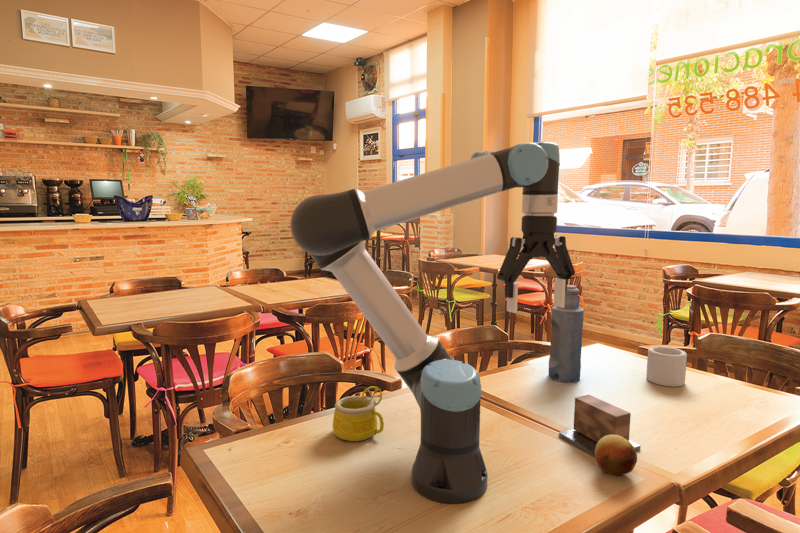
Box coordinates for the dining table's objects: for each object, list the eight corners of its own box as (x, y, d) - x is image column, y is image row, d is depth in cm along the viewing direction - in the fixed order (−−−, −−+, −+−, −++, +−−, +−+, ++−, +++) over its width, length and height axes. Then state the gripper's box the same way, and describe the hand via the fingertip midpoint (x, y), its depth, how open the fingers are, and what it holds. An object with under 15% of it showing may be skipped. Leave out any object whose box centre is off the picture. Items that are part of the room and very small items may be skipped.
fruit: (644, 479, 100) (646, 442, 99) (610, 486, 98) (612, 448, 97) (618, 461, 108) (620, 426, 107) (585, 467, 105) (587, 431, 104)
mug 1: (324, 440, 117) (323, 391, 116) (345, 421, 127) (344, 376, 126) (374, 449, 113) (374, 399, 111) (391, 429, 123) (391, 382, 121)
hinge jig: (601, 461, 108) (602, 446, 107) (558, 436, 119) (559, 422, 119) (640, 449, 113) (641, 435, 112) (595, 426, 124) (596, 413, 124)
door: (628, 447, 111) (630, 413, 110) (614, 451, 109) (616, 416, 108) (587, 425, 122) (588, 394, 121) (573, 429, 120) (575, 397, 119)
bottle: (543, 373, 164) (547, 283, 160) (572, 371, 165) (576, 282, 161) (555, 383, 155) (559, 288, 151) (585, 382, 156) (590, 287, 152)
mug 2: (692, 387, 151) (694, 355, 150) (656, 387, 151) (658, 355, 150) (668, 372, 165) (670, 343, 163) (636, 372, 165) (637, 343, 164)
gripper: (504, 215, 101) (501, 317, 104) (594, 214, 112) (589, 307, 114) (482, 215, 108) (480, 311, 110) (569, 214, 118) (565, 301, 121)
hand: (535, 309), depth 112 cm, fingers open, 13 cm apart
